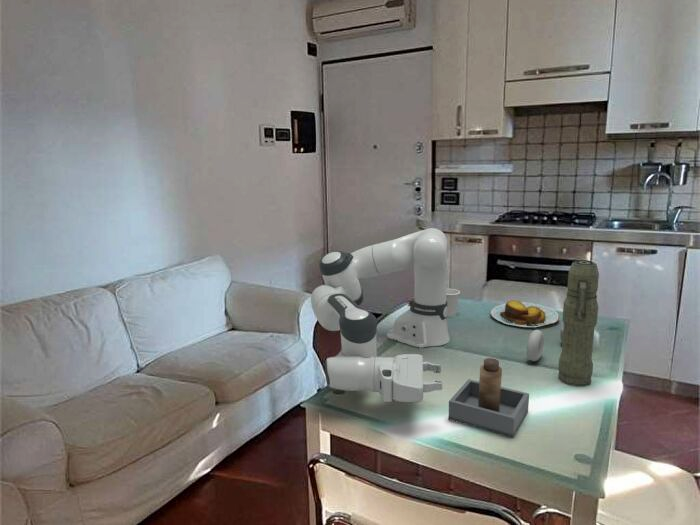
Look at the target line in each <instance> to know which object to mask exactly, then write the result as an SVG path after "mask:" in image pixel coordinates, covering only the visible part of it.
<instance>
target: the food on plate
mask: <svg viewBox="0 0 700 525" xmlns="http://www.w3.org/2000/svg"><path fill="white" fill-rule="evenodd" d="M489 313H490V316H491V317H492V318H493V319H494V320H497V321H498V322H501V323H503V324H504V325H505V324H506V325H509V326H510V325H511V326H516V327H520V328H521V327H522V328H537V327H543V326H546V325H547V326H548V325H550V324H555V323H556V322H557V323H559V322H560V321H559V320H560V315H559V313H558V312H557V311H556V310H554V309H552V308H550V307H548V306H545V305H542V304H538V303H537V304H536V303H532V302H524V301H520V300H509V301H506V303H501V304H498V305H496V306H494V307H493V308H491V309H490V311H489ZM501 317H502V318H504V319H506V320H508V321H507V323H506V320H504V319H503V320H504V321H503V320H502V319H501ZM545 320H546V322H544V321H545ZM509 321H510V322H511V323H510V322H509ZM541 323H544V324H542V325H538V326H535V325H532V324H541ZM529 324H530V325H529ZM527 325H528V326H527ZM531 325H532V326H531Z"/></svg>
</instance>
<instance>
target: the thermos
mask: <svg viewBox="0 0 700 525" xmlns="http://www.w3.org/2000/svg"><path fill="white" fill-rule="evenodd" d="M599 278H600V273H599V269H598V266H597V264H596V263H595V262H594V261H590V260H586V259H585V260H583V259H581V260H580V259H579V260H575V261H573V262H572V263H571V265H570V267H569V270H568V276H567V287H566V288H567V293H566V297H565V300H564V302H563V307H562V308H563V310H562V320H563V322H564V330H563V342H561V353H560V355H559V358H558V367H557V368H558V374H557V375H558V377H557V378H558V380H559V381H560V382H562V383H564V384H566V385H569V386H573V387H587V386H586V385H588V386H590V385H591V383H592V375H593V373H594V372H593V371H594V363H593V360H592V358H593V347H594V335H595V328H596V325H597V324H598V315H599V303H598V300H597V298H598V295H597V292H598V288H599Z"/></svg>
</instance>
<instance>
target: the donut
mask: <svg viewBox="0 0 700 525" xmlns="http://www.w3.org/2000/svg"><path fill="white" fill-rule="evenodd" d="M544 337H545V336H544V333H543V331H541V330H539V329H535V330H532V332H531V333H530V334H529V336H528V338H527V344H526V356H527V358H528V360H529V361H531V362H537V361H539V359H540V358H541V356H542V355H543V354H542V353H543V349H544V345H545V338H544Z"/></svg>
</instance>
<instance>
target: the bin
mask: <svg viewBox="0 0 700 525" xmlns="http://www.w3.org/2000/svg"><path fill="white" fill-rule="evenodd" d="M479 381H480V380H479ZM479 381H478V380H474V379H470V378H468V379H467V380H466V381H465V382H464V384H463V385H462V386H461V387H460V388H459V389H458V390H457V391H456V392H455V393H454V395H453V396H452V397H451V398H450V399H449V400H448V420H449V421H453V422H456V421H457V422H456V423H460V424H464V425H467V426H470V427H475V428H478V429H481V430H484V431H487V432H491V433H496V434H498V435H502V436H505V437H508V438H512V439H513V438H514V437H515V435H516V433H517V432H518V430H519V428H520V427H521V426H522V423H523V421H524V419H525V418H526V416H527V414H528V412H529V406H530V405H529V403H530V402H529V401H530V393H528V392H524V391H520V390H517V389H512V388H507V387H504V386H501V393H500V409H499V412H496V411H492V410H489V409H485V408H481V407H478V401H479Z"/></svg>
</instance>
